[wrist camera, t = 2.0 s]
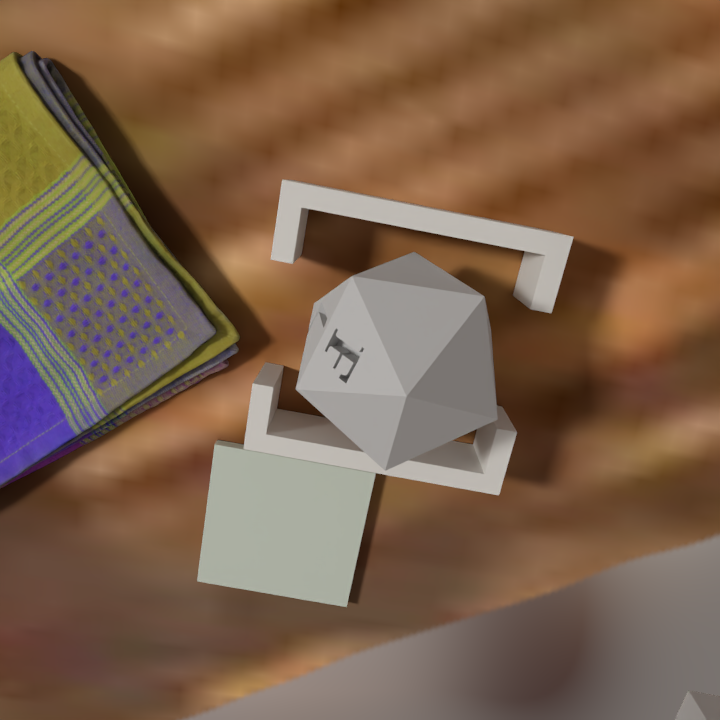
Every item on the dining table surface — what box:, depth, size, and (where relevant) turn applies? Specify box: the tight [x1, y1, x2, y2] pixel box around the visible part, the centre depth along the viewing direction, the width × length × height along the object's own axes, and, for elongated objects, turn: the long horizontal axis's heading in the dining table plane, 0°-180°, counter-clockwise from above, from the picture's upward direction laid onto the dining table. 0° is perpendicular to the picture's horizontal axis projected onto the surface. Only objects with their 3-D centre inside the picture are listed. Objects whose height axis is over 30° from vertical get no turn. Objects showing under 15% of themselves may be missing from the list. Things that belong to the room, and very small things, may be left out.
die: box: [296, 252, 498, 471], centre depth 26 cm, size 8×9×10 cm
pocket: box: [243, 180, 573, 495], centre depth 29 cm, size 13×13×4 cm
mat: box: [197, 440, 376, 607], centre depth 34 cm, size 9×9×1 cm
